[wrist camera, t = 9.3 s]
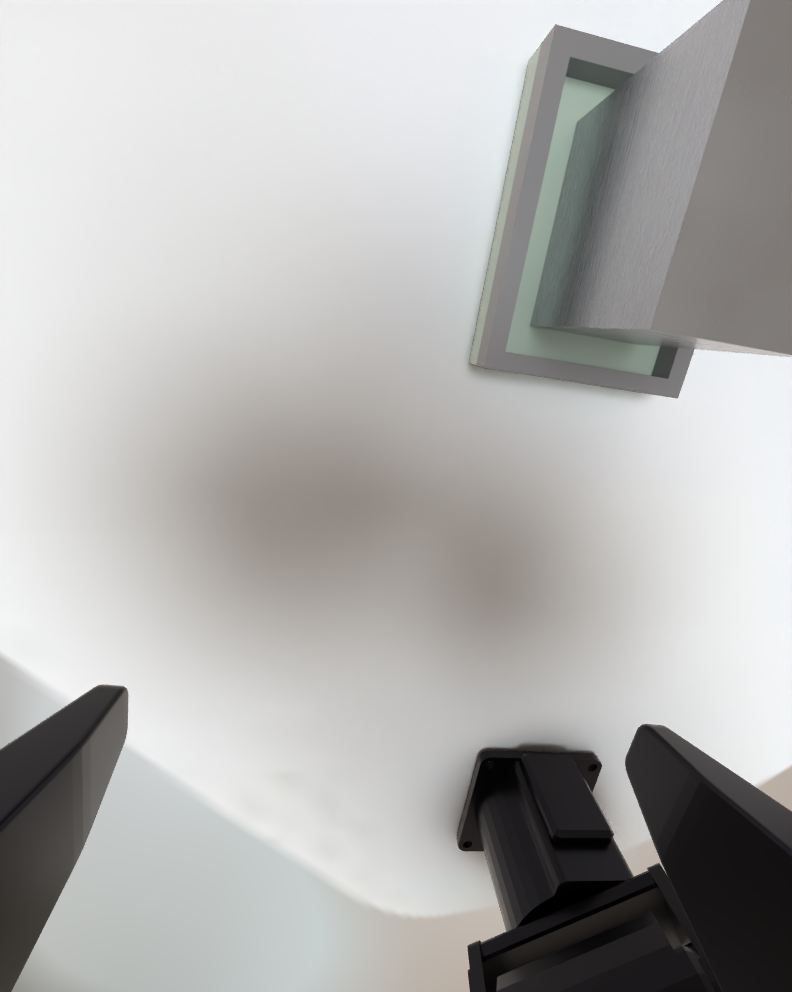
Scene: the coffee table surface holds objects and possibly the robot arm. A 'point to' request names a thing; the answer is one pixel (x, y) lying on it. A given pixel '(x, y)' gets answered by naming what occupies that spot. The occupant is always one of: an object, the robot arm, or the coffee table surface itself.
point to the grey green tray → (529, 220)
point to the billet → (684, 196)
